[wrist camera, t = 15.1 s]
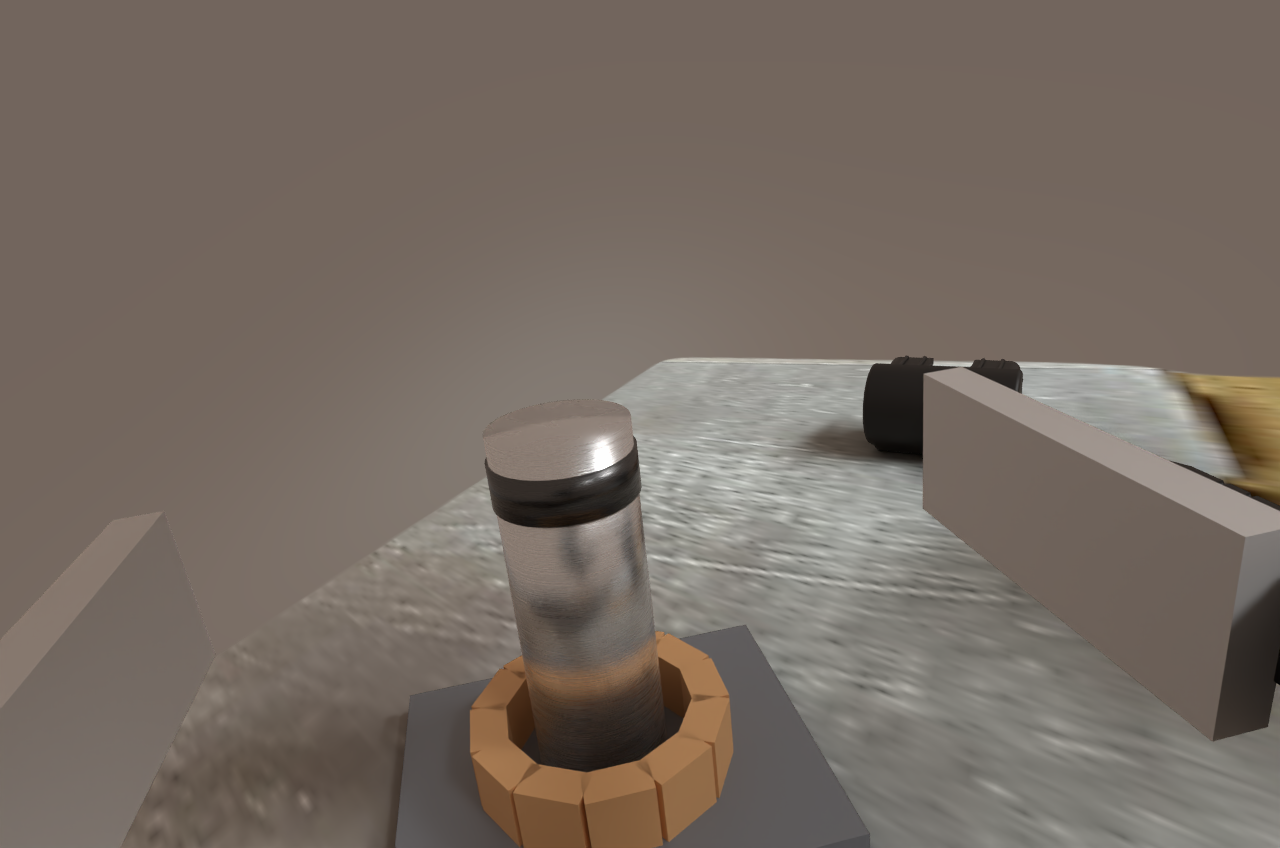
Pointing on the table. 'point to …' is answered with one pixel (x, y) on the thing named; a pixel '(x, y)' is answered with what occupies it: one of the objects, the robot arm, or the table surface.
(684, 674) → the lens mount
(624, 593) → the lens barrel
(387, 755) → the table surface
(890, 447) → the end cap
